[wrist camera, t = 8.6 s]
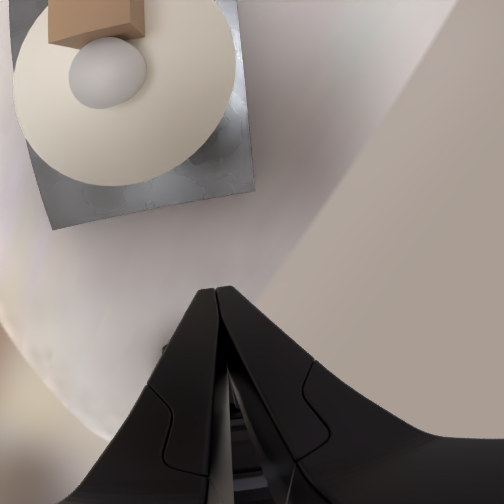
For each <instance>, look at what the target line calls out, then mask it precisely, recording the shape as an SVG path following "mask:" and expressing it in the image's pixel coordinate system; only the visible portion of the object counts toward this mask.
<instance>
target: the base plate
mask: <svg viewBox="0 0 504 504" xmlns="http://www.w3.org/2000/svg"><path fill="white" fill-rule="evenodd" d="M214 2H215V3H216V4H217V5H218V7H219V8H220V10H221V11H222V13H223V15H224V16H225V18H226V20H227V23H228V25H229V27H230V30H231V33H232V37H233V40H234V44H235V53H236V75H235V81H234V87H233V91H232V94H231V97H230V101H229V104H228V106H227V108H226V110H225V112H224V115H223V117H222V119H221V120H220V122H219V124H218V125H217V127H216V128H215V130H214V131H213V133H212V134H211V135H210V137H209V138H208V139H207V140H206V142H205V143H204V144H203V145H202V146H201V147H200V148H199V149H198V150H197V151H196V152H195V153H194V154H193V155H191V156H190V157H189V158H188V159H186V160H185V161H184V162H183V163H181V164H180V165H178V166H176V167H175V168H173V169H172V170H170V171H168V172H166V173H164V174H162V175H160V176H158V177H155V178H152V179H149V180H146V181H144V182H140V183H135V184H130V185H122V186H99V185H93V184H87V183H84V182H81V181H77V180H74V179H72V178H70V177H67V176H65V175H63V174H61V173H60V172H58V171H57V170H55V169H53V168H52V167H51V166H49V165H48V164H47V163H46V162H45V161H44V160H42V159H41V158H40V157H39V155H38V154H37V153H36V152H35V151H34V150H33V148H32V147H31V146H30V144H29V143H28V141H27V140H26V142H27V146H28V150H29V154H30V158H31V162H32V166H33V170H34V173H35V177H36V180H37V184H38V187H39V190H40V194H41V197H42V200H43V203H44V206H45V209H46V212H47V215H48V218H49V221H50V224H51V227H52V230H57V229H61V228H65V227H69V226H73V225H78V224H82V223H87V222H91V221H96V220H100V219H105V218H109V217H114V216H119V215H123V214H128V213H133V212H138V211H143V210H148V209H153V208H159V207H164V206H169V205H175V204H180V203H186V202H191V201H197V200H203V199H209V198H215V197H221V196H227V195H233V194H239V193H246V192H252V191H255V184H254V173H253V162H252V152H251V141H250V131H249V121H248V110H247V100H246V90H245V80H244V70H243V60H242V50H241V41H240V31H239V21H238V12H237V2H236V0H214ZM47 6H48V0H9V19H10V38H11V50H12V61H13V69H14V71H15V66H16V61H17V58H18V55H19V52H20V49H21V46H22V44H23V42H24V40H25V38H26V36H27V33H28V32H29V30H30V28H31V27H32V25H33V24H34V22H35V21H36V19H37V18H38V17H39V16H40V14H41V13H42V12H43V11H44V9H45V8H46V7H47Z"/></svg>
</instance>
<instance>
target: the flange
mask: <svg viewBox="0 0 504 504" xmlns="http://www.w3.org/2000/svg"><path fill="white" fill-rule="evenodd" d="M235 75H236V53H235V44H234V40H233V37H232V33H231V30H230V27H229V25H228V23H227V20H226V18H225V16H224V15H223V13H222V11H221V10H220V8H219V7H218V5H217V4H216V3H215V2H214V0H48V6H47V7H46V8H45V9H44V11H43V12H42V13H41V14H40V16H39V17H38V18H37V19H36V21H35V22H34V24H33V25H32V27H31V28H30V30H29V32H28V33H27V36H26V38H25V40H24V42H23V44H22V46H21V49H20V52H19V55H18V58H17V61H16V66H15V71H14V80H13V99H14V106H15V111H16V116H17V119H18V122H19V125H20V128H21V130H22V132H23V134H24V136H25V138H26V140H27V141H28V143H29V144H30V146H31V147H32V148H33V150H34V151H35V152H36V153H37V154H38V155H39V157H40V158H41V159H42V160H44V161H45V162H46V163H47V164H48V165H49V166H51V167H52V168H53V169H55V170H57V171H58V172H60V173H61V174H63V175H65V176H67V177H70V178H72V179H74V180H77V181H81V182H84V183H87V184H93V185H99V186H122V185H130V184H135V183H140V182H144V181H146V180H149V179H152V178H155V177H158V176H160V175H162V174H164V173H166V172H168V171H170V170H172V169H173V168H175V167H176V166H178V165H180V164H181V163H183V162H184V161H185V160H186V159H188V158H189V157H190V156H191V155H193V154H194V153H195V152H196V151H197V150H198V149H199V148H200V147H201V146H202V145H203V144H204V143H205V142H206V140H207V139H208V138H209V137H210V135H211V134H212V133H213V131H214V130H215V128H216V127H217V125H218V124H219V122H220V120H221V119H222V117H223V115H224V112H225V110H226V108H227V106H228V104H229V101H230V97H231V94H232V91H233V87H234V81H235Z"/></svg>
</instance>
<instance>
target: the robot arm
mask: <svg viewBox="0 0 504 504" xmlns="http://www.w3.org/2000/svg"><path fill="white" fill-rule="evenodd" d="M56 504H504V439H475V438H454V437H441V436H437V435H433V434H429V433H427V432H424V431H422V430H419V429H417V428H415V427H413V426H412V425H410V424H407V423H406V422H405V421H403V420H401V419H400V418H398V417H396V416H395V415H393V414H392V413H390V412H388V411H387V410H385V409H383V408H382V407H380V406H379V405H377V404H375V403H374V402H372V401H371V400H369V399H367V398H366V397H364V396H363V395H361V394H360V393H358V392H357V391H355V390H354V389H353V388H351V387H350V386H348V385H347V384H345V383H344V382H343V381H341V380H340V379H339V378H338V377H336V376H335V375H334V374H332V373H331V372H330V371H329V370H327V369H326V368H325V367H324V366H323V365H322V364H320V363H319V362H318V361H317V360H315V361H314V358H313V357H312V356H311V355H310V354H309V353H307V352H306V351H305V350H304V349H303V348H302V347H301V346H299V345H298V344H297V343H296V342H295V341H294V340H292V339H291V338H290V337H289V336H288V335H287V334H285V333H284V332H283V331H282V330H281V329H280V328H279V327H278V326H277V325H275V324H274V323H273V322H272V321H271V320H270V319H269V318H267V317H266V316H265V315H264V314H263V313H262V312H261V311H260V310H259V309H257V308H256V307H255V306H254V305H253V304H252V303H251V302H250V301H249V300H247V299H246V298H245V297H244V296H243V295H242V294H241V293H240V292H239V291H238V290H236V289H235V288H234V287H233V286H224V287H217V288H216V291H215V289H214V288H209V289H201V290H198V291H197V293H196V295H195V297H194V298H193V300H192V302H191V304H190V306H189V307H188V309H187V311H186V313H185V314H184V316H183V318H182V320H181V322H180V323H179V325H178V327H177V329H176V331H175V332H174V334H173V336H172V338H171V340H170V341H169V343H168V345H167V347H164V348H163V350H162V356H161V358H160V360H159V361H158V363H157V365H156V367H155V369H154V371H153V372H152V374H151V376H150V378H149V380H148V382H147V385H146V386H145V387H144V389H143V391H142V392H141V394H140V396H139V398H138V400H137V402H136V403H135V405H134V407H133V408H132V410H131V412H130V414H129V415H128V417H127V418H126V420H125V421H124V423H123V424H122V426H121V427H120V429H119V430H118V432H117V433H116V435H115V436H114V438H113V439H112V440H111V442H110V443H109V445H108V446H107V447H106V449H105V450H104V452H103V453H102V454H101V456H100V457H99V459H98V460H97V462H96V463H95V465H94V466H93V467H92V469H91V470H90V471H89V473H88V474H87V476H86V477H85V478H84V480H83V481H82V482H81V484H80V485H79V486H78V487H77V488H76V489H75V490H74V491H73V492H72V493H71V494H70V495H68V496H67V497H66V498H65V499H63V500H62V501H60V502H58V503H56Z"/></svg>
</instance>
